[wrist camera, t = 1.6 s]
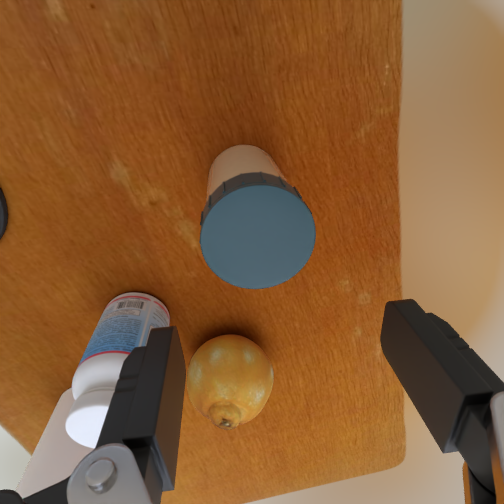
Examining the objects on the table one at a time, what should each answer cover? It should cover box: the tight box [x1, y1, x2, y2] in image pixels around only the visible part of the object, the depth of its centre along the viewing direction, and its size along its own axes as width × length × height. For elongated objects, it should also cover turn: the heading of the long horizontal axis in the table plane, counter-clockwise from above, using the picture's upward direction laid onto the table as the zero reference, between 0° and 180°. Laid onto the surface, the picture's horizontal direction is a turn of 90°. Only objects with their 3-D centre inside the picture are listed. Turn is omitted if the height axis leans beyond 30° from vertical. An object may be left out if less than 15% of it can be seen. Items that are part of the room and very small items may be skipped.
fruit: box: [187, 334, 274, 430], centre depth 31 cm, size 8×8×8 cm
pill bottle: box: [65, 292, 170, 448], centre depth 26 cm, size 6×6×11 cm
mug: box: [15, 387, 95, 499], centre depth 33 cm, size 12×8×10 cm
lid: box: [200, 171, 316, 289], centre depth 18 cm, size 6×6×2 cm
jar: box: [206, 145, 288, 203], centre depth 21 cm, size 6×6×10 cm
